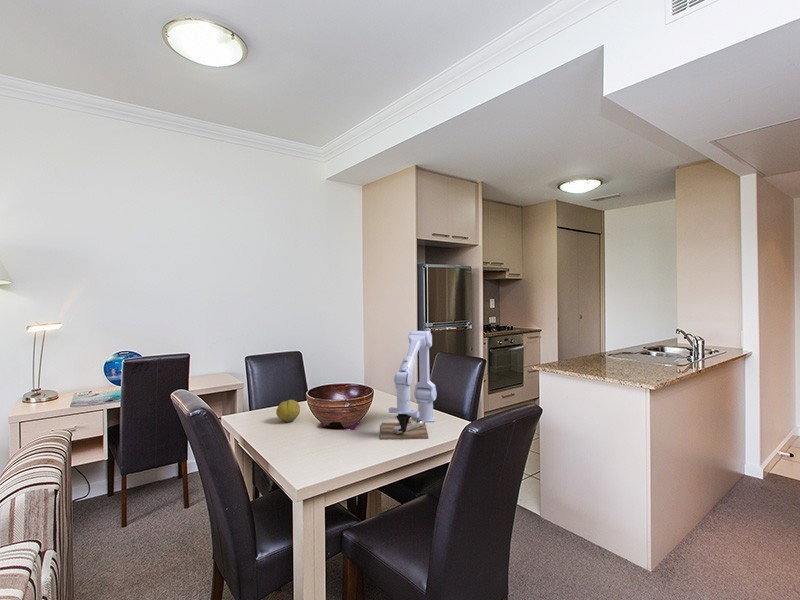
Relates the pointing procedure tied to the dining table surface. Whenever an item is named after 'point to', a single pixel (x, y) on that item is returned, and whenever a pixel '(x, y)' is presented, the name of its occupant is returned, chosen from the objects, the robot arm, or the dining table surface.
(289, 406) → the fruit
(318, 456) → the dining table surface
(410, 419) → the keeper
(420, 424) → the link
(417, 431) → the base plate
